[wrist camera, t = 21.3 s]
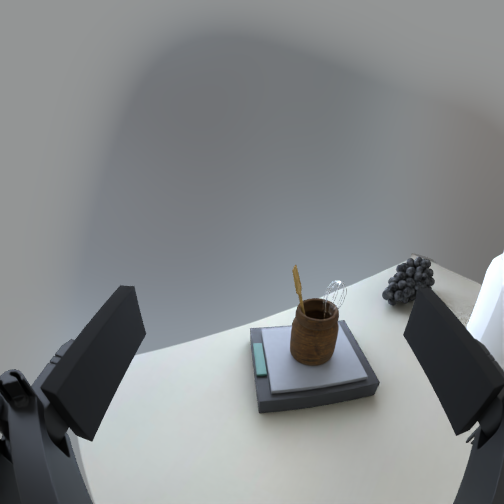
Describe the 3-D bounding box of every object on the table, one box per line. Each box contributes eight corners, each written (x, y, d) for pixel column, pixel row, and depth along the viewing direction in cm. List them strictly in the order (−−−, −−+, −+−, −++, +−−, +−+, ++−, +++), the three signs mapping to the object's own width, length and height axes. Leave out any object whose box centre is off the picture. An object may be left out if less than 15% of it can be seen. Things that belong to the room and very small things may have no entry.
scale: (258, 413, 28) (259, 398, 27) (250, 340, 41) (250, 324, 40) (374, 394, 29) (381, 379, 28) (341, 332, 42) (344, 317, 41)
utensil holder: (330, 371, 30) (348, 287, 26) (281, 362, 32) (287, 278, 28) (335, 341, 35) (350, 263, 31) (292, 334, 37) (298, 256, 33)
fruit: (398, 269, 42) (439, 255, 47) (367, 266, 50) (411, 253, 55) (399, 316, 43) (440, 294, 48) (369, 308, 51) (412, 289, 56)
